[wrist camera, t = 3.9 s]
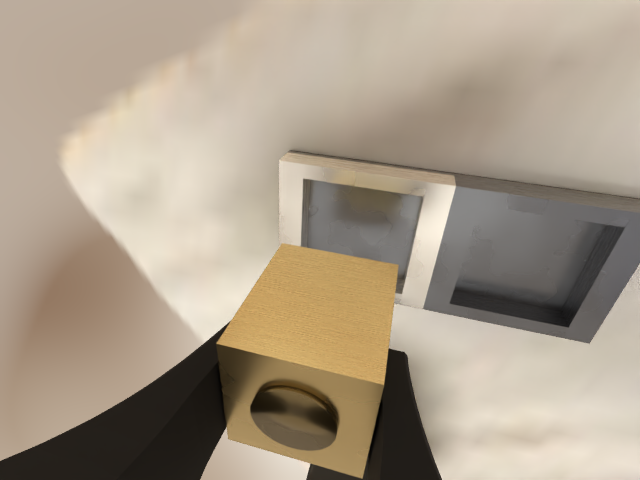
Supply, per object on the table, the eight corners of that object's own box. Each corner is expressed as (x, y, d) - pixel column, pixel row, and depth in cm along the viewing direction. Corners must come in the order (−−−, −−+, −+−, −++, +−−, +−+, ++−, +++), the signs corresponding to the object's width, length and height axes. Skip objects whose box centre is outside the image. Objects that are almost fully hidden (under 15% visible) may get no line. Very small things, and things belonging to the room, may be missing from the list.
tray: (648, 200, 16) (668, 217, 14) (578, 321, 19) (589, 343, 18) (289, 150, 19) (278, 160, 17) (287, 263, 22) (279, 279, 21)
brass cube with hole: (398, 264, 13) (383, 391, 8) (380, 350, 15) (361, 485, 11) (282, 243, 13) (212, 349, 9) (281, 327, 16) (225, 445, 11)
